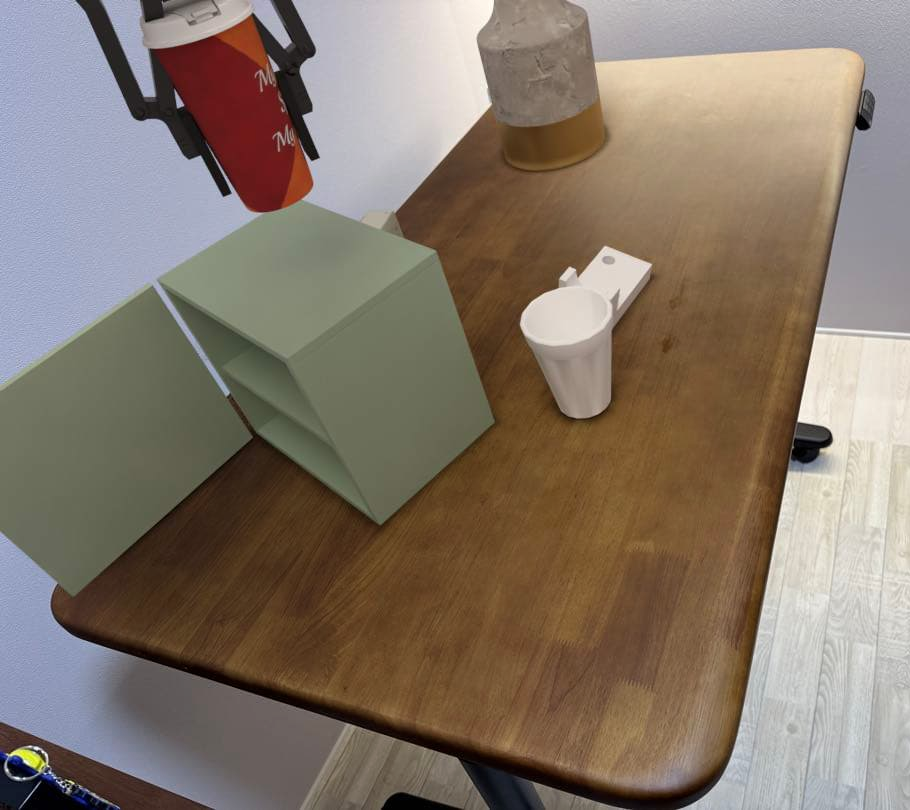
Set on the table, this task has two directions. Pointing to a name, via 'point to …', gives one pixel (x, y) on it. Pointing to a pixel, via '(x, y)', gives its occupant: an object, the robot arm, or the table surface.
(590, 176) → the table surface
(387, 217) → the cosmetic box
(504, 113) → the vase
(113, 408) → the cupboard door
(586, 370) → the cup
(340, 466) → the cupboard
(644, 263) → the bracket
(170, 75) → the coffee cup
